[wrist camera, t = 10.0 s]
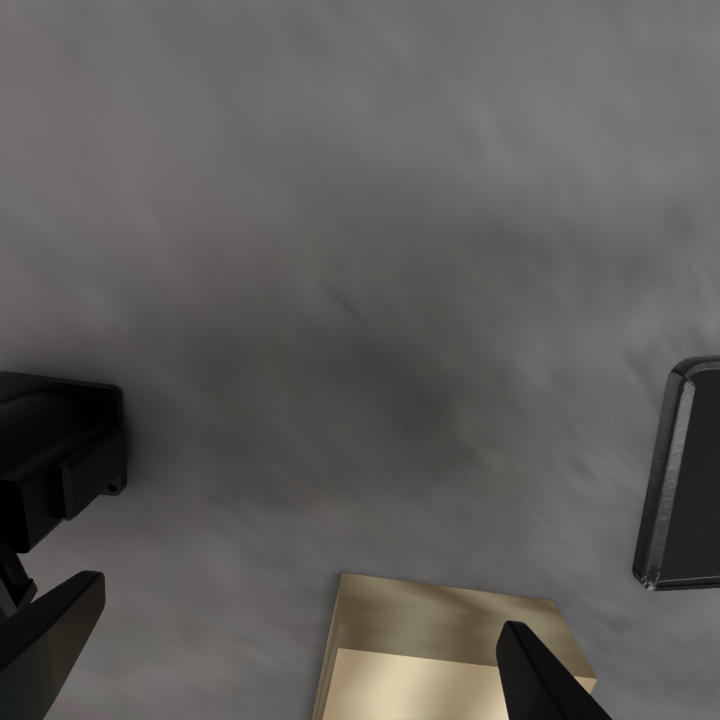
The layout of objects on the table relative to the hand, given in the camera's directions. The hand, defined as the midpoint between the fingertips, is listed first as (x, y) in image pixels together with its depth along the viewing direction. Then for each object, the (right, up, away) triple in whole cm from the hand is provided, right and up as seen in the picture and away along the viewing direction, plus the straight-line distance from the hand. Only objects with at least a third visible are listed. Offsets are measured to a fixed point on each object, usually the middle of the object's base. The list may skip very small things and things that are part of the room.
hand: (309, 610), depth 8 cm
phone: (+22, -1, +14) cm, 26 cm away
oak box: (+6, -15, +18) cm, 24 cm away
